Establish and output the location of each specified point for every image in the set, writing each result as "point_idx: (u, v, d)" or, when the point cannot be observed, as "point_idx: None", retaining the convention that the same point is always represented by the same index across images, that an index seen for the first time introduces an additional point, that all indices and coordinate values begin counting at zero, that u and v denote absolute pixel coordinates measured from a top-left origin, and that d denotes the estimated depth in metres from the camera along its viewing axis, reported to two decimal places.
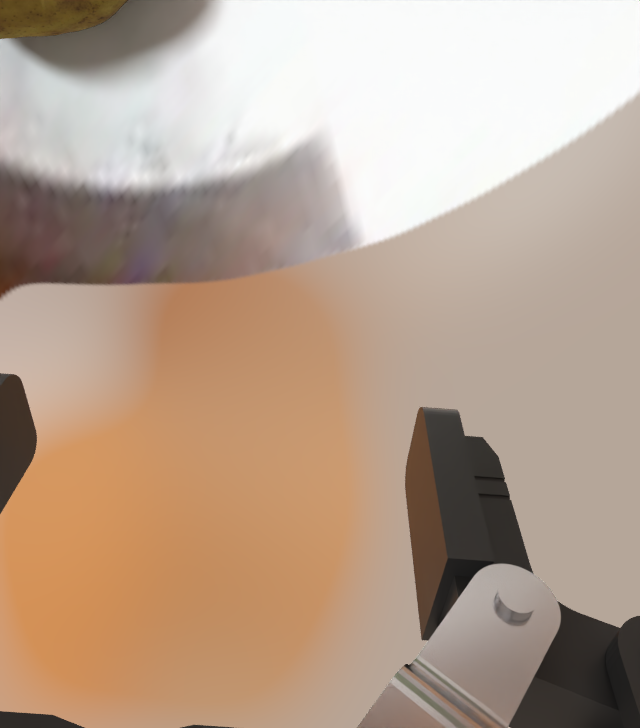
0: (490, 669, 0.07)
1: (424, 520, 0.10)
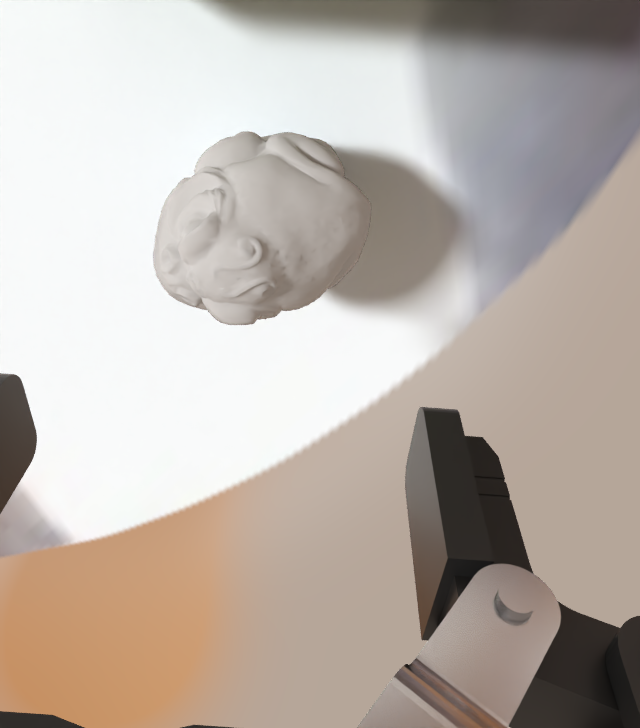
0: (490, 668, 0.07)
1: (424, 520, 0.10)
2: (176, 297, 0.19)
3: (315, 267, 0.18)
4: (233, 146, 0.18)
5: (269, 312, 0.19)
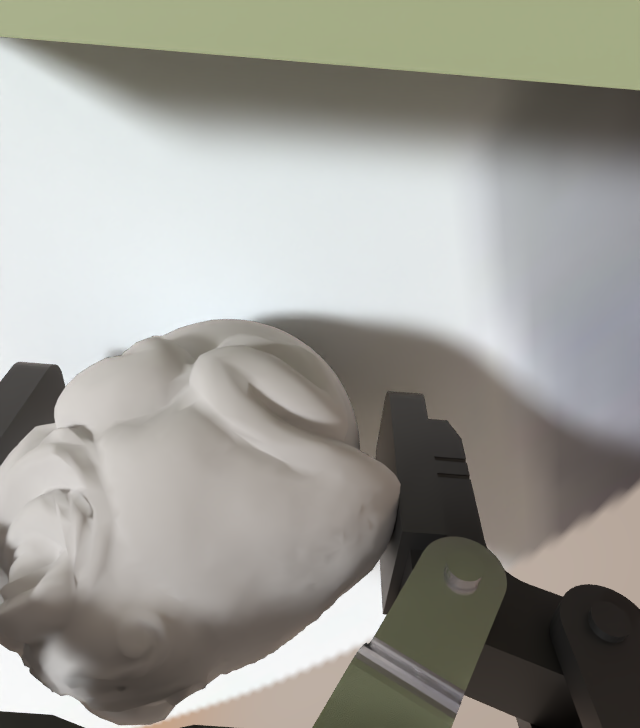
0: (445, 637, 0.07)
1: None
2: None
3: (289, 622, 0.09)
4: (120, 387, 0.09)
5: None
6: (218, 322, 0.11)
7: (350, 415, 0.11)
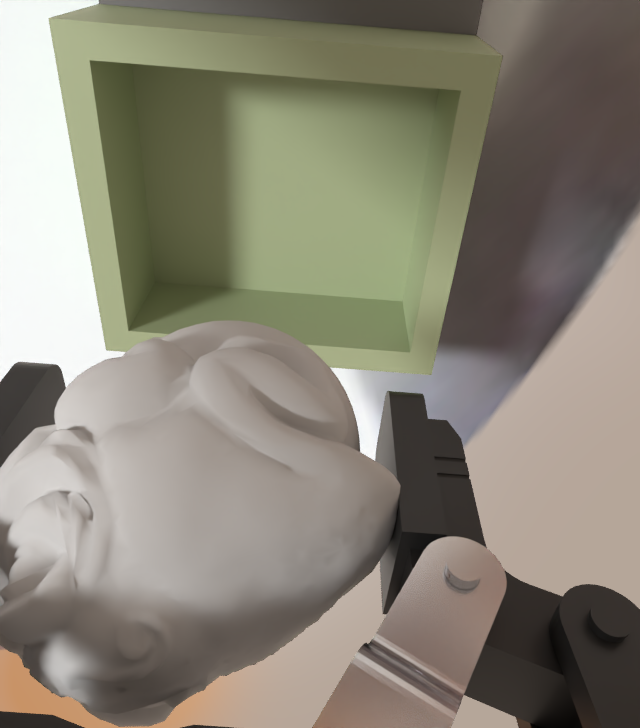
0: (445, 638, 0.07)
1: None
2: None
3: (289, 623, 0.09)
4: (120, 389, 0.09)
5: None
6: (218, 323, 0.11)
7: (350, 417, 0.11)
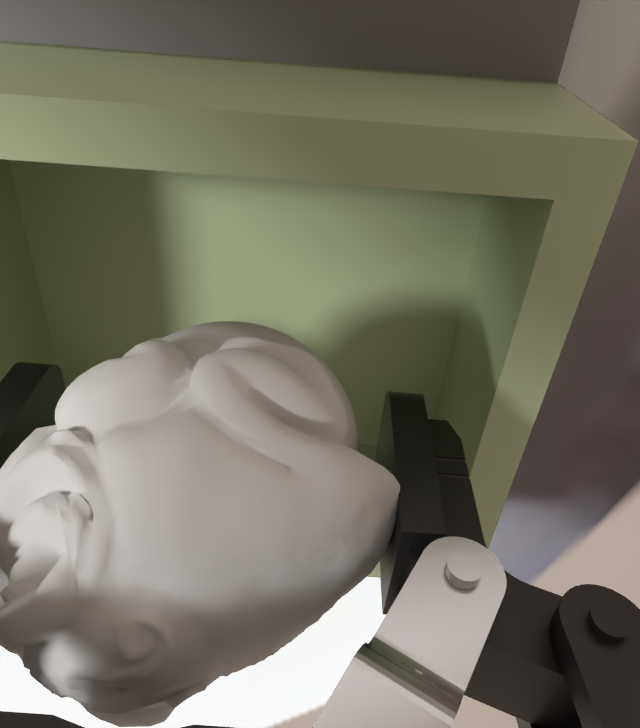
0: (445, 638, 0.07)
1: None
2: None
3: (289, 624, 0.09)
4: (120, 390, 0.09)
5: None
6: (218, 324, 0.11)
7: (350, 417, 0.11)
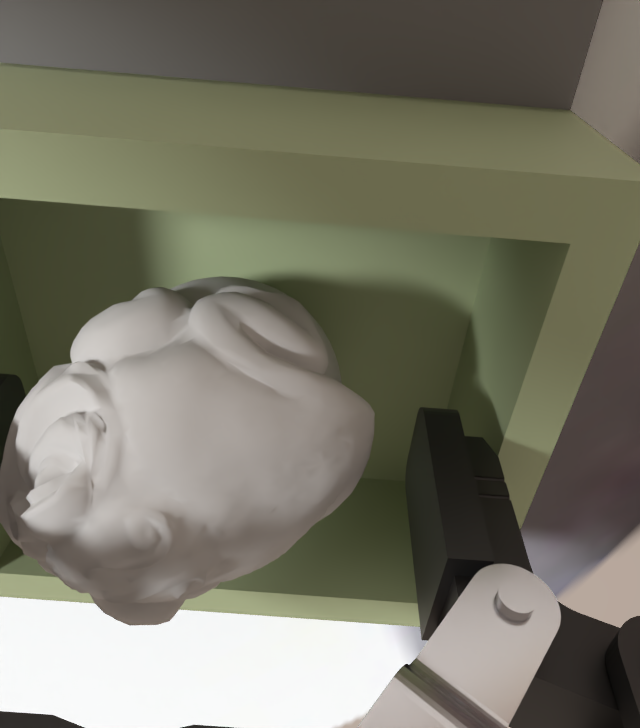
0: (490, 668, 0.07)
1: (424, 520, 0.10)
2: None
3: (277, 531, 0.10)
4: (128, 326, 0.10)
5: None
6: (214, 278, 0.12)
7: (332, 360, 0.12)
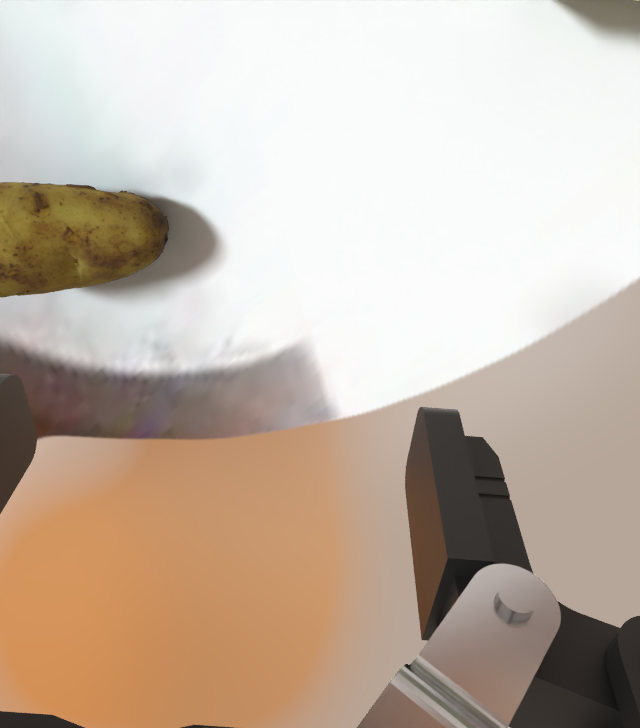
0: (490, 669, 0.07)
1: (424, 520, 0.10)
2: None
3: None
4: None
5: None
6: None
7: None
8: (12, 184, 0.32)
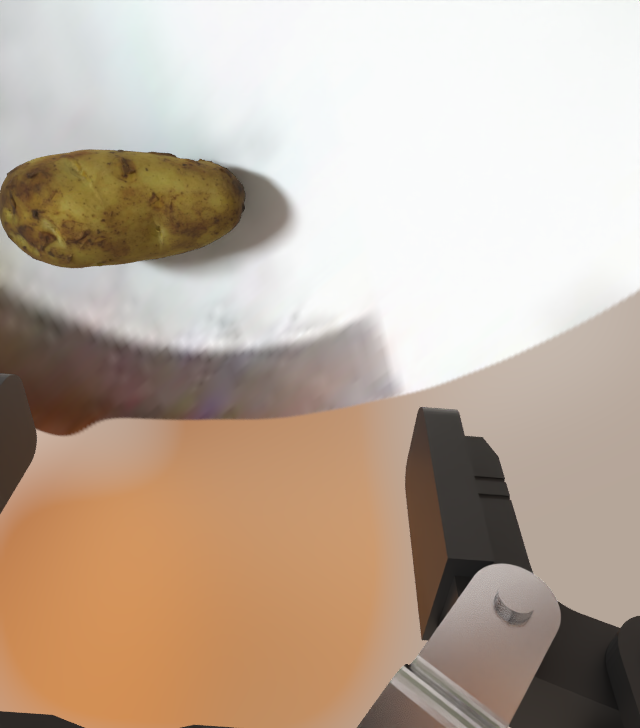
0: (490, 668, 0.07)
1: (424, 520, 0.10)
2: None
3: None
4: None
5: None
6: None
7: None
8: (98, 150, 0.32)
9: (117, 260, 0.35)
